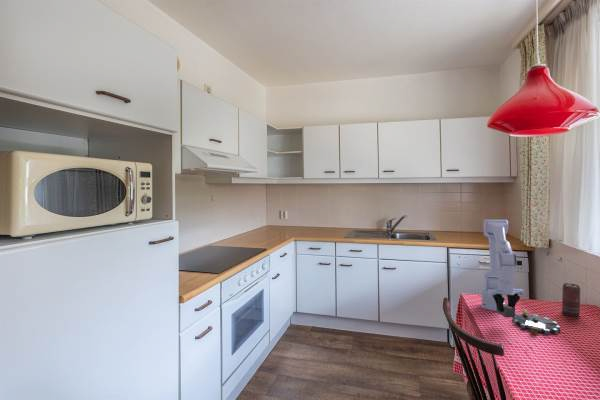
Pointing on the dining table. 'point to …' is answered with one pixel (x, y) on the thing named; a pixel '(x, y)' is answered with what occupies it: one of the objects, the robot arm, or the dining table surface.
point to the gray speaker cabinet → (507, 310)
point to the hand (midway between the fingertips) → (505, 310)
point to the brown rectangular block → (534, 330)
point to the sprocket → (536, 323)
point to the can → (571, 300)
